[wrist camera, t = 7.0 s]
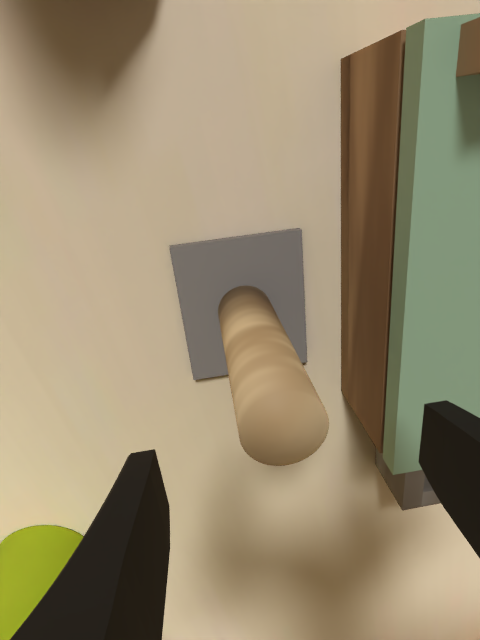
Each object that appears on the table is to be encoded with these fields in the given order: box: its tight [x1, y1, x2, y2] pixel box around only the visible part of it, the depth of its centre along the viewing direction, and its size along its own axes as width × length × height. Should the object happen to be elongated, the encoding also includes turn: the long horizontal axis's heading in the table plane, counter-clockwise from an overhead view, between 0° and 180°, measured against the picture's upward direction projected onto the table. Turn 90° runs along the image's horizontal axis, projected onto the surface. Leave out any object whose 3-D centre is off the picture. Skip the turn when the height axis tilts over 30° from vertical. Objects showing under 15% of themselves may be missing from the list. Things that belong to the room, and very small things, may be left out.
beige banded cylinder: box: [218, 286, 329, 466], centre depth 16 cm, size 3×3×9 cm
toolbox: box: [341, 30, 441, 510], centre depth 19 cm, size 10×22×5 cm, turn 6°
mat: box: [170, 228, 307, 380], centre depth 20 cm, size 6×7×1 cm
